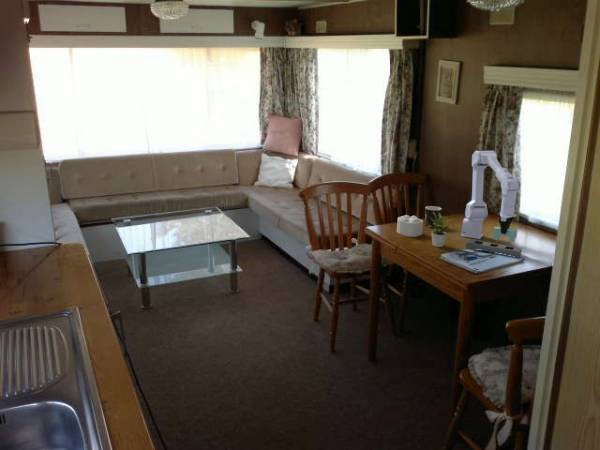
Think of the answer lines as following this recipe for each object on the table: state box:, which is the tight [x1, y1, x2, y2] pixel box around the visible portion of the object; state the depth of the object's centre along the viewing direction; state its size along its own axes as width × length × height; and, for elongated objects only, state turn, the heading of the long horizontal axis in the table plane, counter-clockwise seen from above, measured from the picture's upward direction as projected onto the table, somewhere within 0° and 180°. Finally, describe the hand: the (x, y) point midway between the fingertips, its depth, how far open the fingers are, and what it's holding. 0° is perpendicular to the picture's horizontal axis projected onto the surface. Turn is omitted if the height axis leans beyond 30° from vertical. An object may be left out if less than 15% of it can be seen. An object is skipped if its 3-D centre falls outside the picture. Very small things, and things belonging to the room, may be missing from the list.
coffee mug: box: [424, 205, 442, 229], centre depth 295 cm, size 12×9×10 cm
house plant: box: [427, 212, 454, 248], centre depth 264 cm, size 14×14×16 cm
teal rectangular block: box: [492, 226, 518, 243], centre depth 256 cm, size 10×3×5 cm, turn 59°
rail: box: [465, 238, 523, 259], centre depth 258 cm, size 24×6×3 cm, turn 59°
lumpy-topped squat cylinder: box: [396, 214, 424, 238], centre depth 283 cm, size 10×13×9 cm
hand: (504, 232), depth 255 cm, fingers closed on teal rectangular block, 3 cm apart
